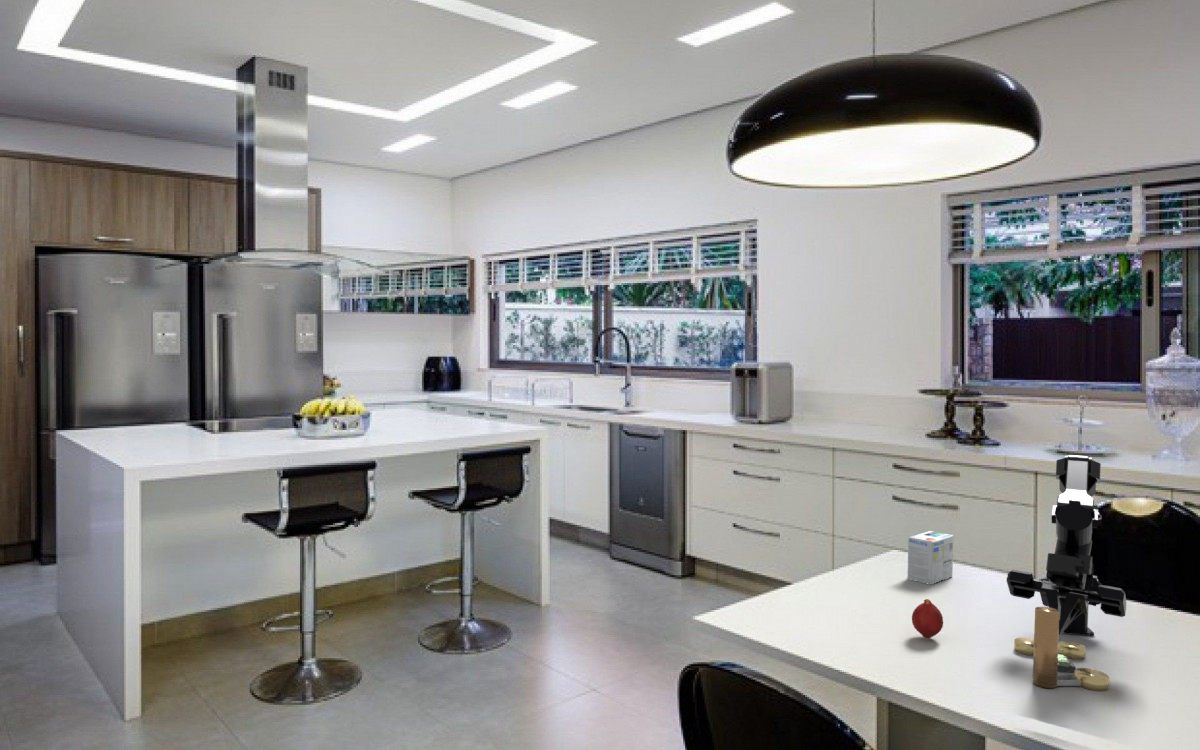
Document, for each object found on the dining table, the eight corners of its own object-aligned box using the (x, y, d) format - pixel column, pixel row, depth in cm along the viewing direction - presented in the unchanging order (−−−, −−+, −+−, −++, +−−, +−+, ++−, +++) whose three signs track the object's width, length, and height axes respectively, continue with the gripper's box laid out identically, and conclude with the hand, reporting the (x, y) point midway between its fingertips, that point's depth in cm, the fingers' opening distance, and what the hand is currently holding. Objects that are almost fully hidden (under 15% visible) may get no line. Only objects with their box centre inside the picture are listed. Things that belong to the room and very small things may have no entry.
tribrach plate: (986, 647, 157) (987, 632, 157) (1101, 657, 153) (1101, 641, 153) (1016, 692, 138) (1016, 674, 138) (1148, 704, 133) (1149, 686, 133)
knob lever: (1096, 678, 140) (1099, 605, 140) (1115, 690, 135) (1118, 615, 135) (1026, 678, 140) (1028, 605, 139) (1042, 691, 135) (1045, 615, 134)
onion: (917, 630, 166) (918, 592, 166) (946, 637, 162) (947, 598, 162) (907, 638, 162) (908, 599, 161) (937, 646, 158) (938, 605, 157)
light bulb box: (927, 571, 208) (929, 529, 208) (953, 577, 203) (954, 534, 203) (906, 579, 201) (907, 536, 201) (932, 585, 196) (933, 541, 196)
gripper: (1010, 527, 154) (993, 599, 147) (1126, 544, 142) (1115, 624, 135) (1019, 558, 161) (1003, 629, 153) (1130, 577, 149) (1120, 655, 141)
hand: (1057, 633), depth 145 cm, fingers closed
